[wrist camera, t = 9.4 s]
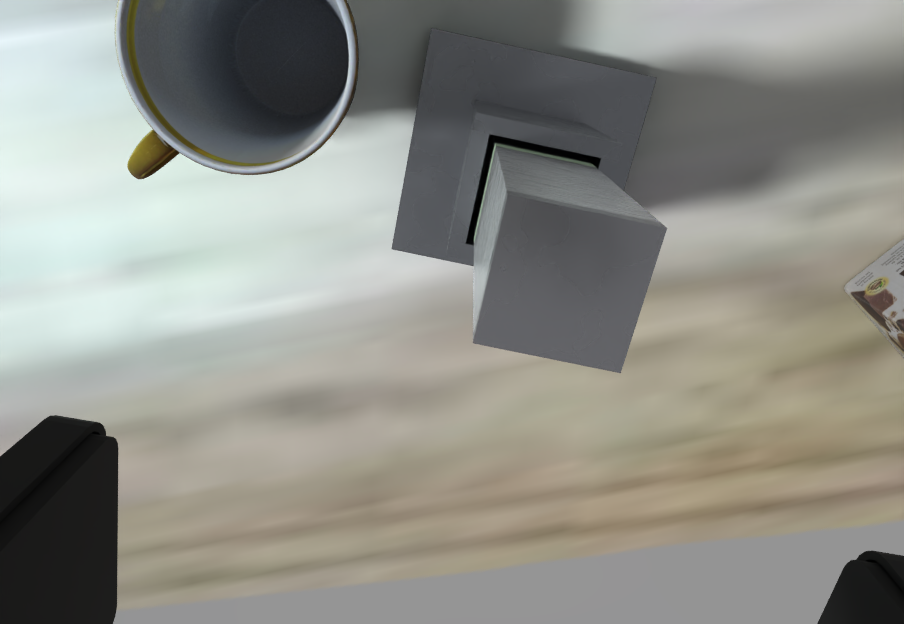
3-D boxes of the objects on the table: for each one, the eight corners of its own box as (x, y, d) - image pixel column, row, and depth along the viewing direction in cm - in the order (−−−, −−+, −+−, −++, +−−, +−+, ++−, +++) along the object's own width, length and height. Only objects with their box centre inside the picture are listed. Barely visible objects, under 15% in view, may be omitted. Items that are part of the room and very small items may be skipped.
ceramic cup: (292, -92, 35) (224, -150, 26) (424, 62, 37) (407, 61, 28) (133, 86, 38) (21, 93, 29) (264, 218, 41) (200, 265, 31)
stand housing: (433, 29, 37) (415, 14, 26) (649, 77, 37) (721, 82, 26) (394, 242, 41) (365, 307, 30) (590, 283, 41) (630, 361, 30)
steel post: (492, 132, 32) (508, 194, 17) (576, 150, 32) (667, 227, 17) (473, 216, 33) (472, 343, 18) (554, 232, 33) (620, 372, 18)
